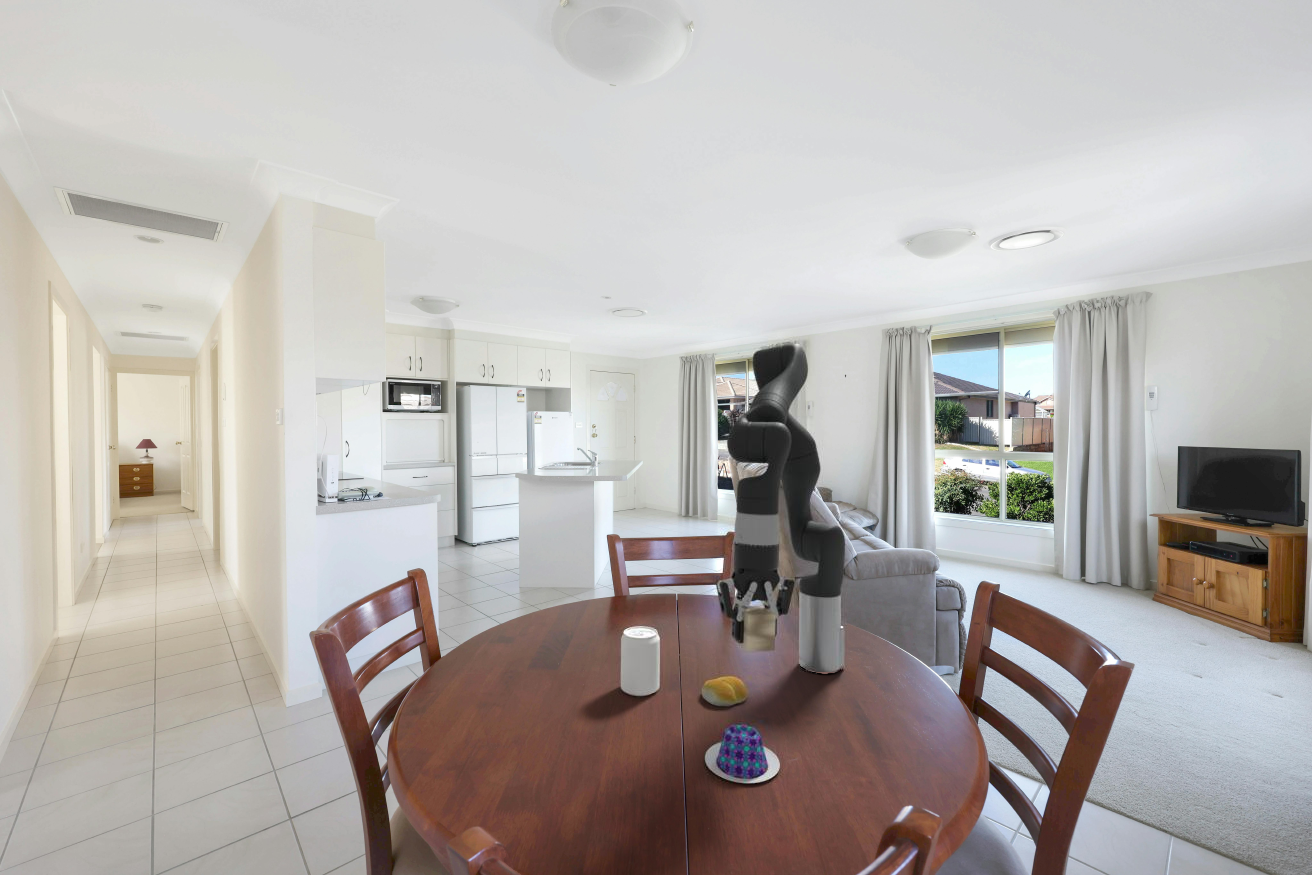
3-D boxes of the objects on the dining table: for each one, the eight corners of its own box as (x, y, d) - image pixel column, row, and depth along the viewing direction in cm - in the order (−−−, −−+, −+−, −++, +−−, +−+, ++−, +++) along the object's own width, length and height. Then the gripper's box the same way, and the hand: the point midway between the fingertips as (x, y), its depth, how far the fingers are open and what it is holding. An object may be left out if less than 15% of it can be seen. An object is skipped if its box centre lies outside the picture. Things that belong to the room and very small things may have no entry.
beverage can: (655, 699, 111) (655, 640, 111) (616, 695, 113) (616, 636, 113) (662, 682, 119) (663, 626, 119) (626, 679, 121) (626, 624, 121)
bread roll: (754, 700, 112) (755, 680, 112) (720, 711, 107) (720, 690, 107) (727, 684, 119) (728, 666, 119) (694, 694, 114) (694, 675, 114)
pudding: (782, 751, 94) (782, 720, 94) (776, 794, 82) (777, 759, 82) (712, 739, 97) (712, 709, 97) (697, 779, 86) (698, 745, 86)
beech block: (760, 640, 96) (761, 605, 97) (774, 650, 92) (775, 613, 92) (734, 641, 95) (735, 606, 95) (747, 652, 90) (748, 615, 90)
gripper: (783, 535, 99) (781, 631, 99) (708, 536, 95) (706, 636, 95) (806, 542, 92) (803, 645, 92) (726, 544, 88) (723, 651, 88)
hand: (753, 640), depth 93 cm, fingers closed on beech block, 5 cm apart
